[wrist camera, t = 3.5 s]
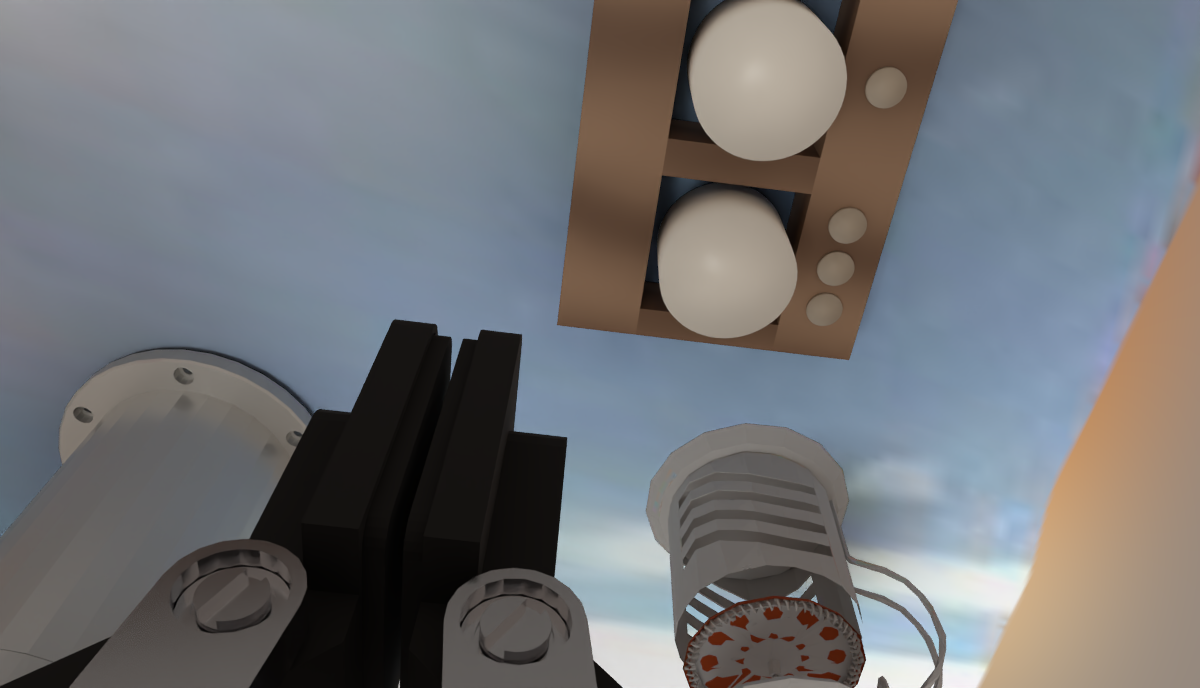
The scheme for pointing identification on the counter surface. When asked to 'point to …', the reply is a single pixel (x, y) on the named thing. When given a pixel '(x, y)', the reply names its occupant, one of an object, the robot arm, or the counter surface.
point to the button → (765, 77)
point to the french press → (765, 562)
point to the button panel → (744, 170)
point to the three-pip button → (725, 261)
